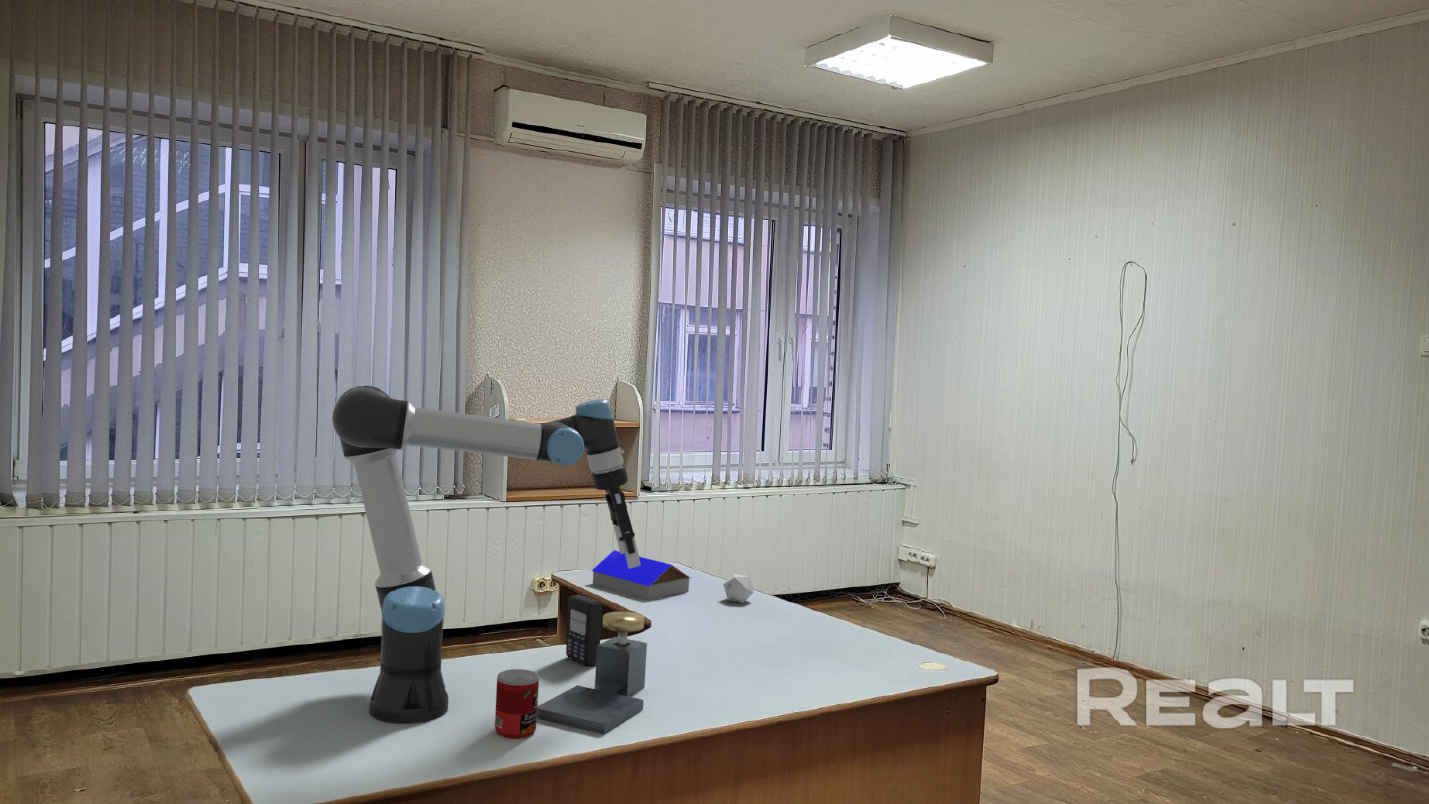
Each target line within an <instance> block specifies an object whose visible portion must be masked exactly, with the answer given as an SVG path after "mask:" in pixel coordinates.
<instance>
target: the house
mask: <svg viewBox="0 0 1429 804" xmlns="http://www.w3.org/2000/svg"><path fill="white" fill-rule="evenodd" d="M639 559H640V563H641V566H637V567H634V568H630V569H629V568H628V563H627V559H626V555H625V553H622V554H620V550H615V549H614V550H612V551H611V552H610V553H609V554H608V555H607V556H606V557H604V559H603V560H601V561H600V562H599V563H598V564H597V565H595V567H594V568H592V569H591V572H592V585H594V586H598V587H601V588H605V589H607V590H611V591H614V592H618V593H621V594H626V595H629V596H632V597H636V598H639V599H643V600H647V601H652V600H656V599H661V598H665V597H670V596H674V595H679V594H685V593H689V591H690V589H689V588H690V579H691V577H690V576H689V575H688V574H686V573H684V572H683V571H682V570H680V569H679V568H678V567H676V566H674V565H673V564H670V563H666V562H663V561H658V560H655V559H650V558H646V557H643V556H639Z"/></svg>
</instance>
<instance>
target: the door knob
mask: <svg viewBox="0 0 1429 804" xmlns="http://www.w3.org/2000/svg"><path fill="white" fill-rule="evenodd" d="M601 627H603V629H606V630H607V631H611V632H618V633H617V637H618V646H622V647H626V646H627V639H628V633H632V632H638V631H641V630H643V629H644V627H645V616H644V615H643V614H641V613H637V612H632V611H612V612H611V611H610V612H607V613H605V614H602V624H601Z"/></svg>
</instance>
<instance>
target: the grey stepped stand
mask: <svg viewBox="0 0 1429 804" xmlns="http://www.w3.org/2000/svg"><path fill="white" fill-rule="evenodd" d="M647 647H648V642H644V641H639V640H633V639H628V638H627V646H626V647H622V646H618V636H614V637H612V638H610V639H608V640H606V641H603V642H602V643H601V642H600V644H599V645H597V654H596V664H595V674H594V675H595V677H594V679H595V680H594V688H591V687H586V686H582V685H575V686H573V687H572V688H570V689H568V690H566V691H563V692H562V693H560V694H558V695H557V696H554V697H552V698H551V699H548V700H547V701H544V702H543V703H541V704H540V705H538V706H537V720H538V719H539V720H543V721H548V722H552V723H556V724H559V725H565V726H569V727H573V728H577V729H582V730H585V731H590V732H593V733H596V734H597V733H598V734H601V735H605V734H607V733H609V732H610V731H613V729H614V728H616V727H618V726H619V725H621V724H623V723H624V722H626V721H627V720H629V719H630V718H632V717H634V716H635V715H637V714H639V713H640V712H641V711H643V710H644V701H645V699H642V698H638V697H637V698H636V697H632V695H635V694H636V693H638V692H639V691H640V690H643V689H644V688H645V683H646V666H647V665H646V664H647Z"/></svg>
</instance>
